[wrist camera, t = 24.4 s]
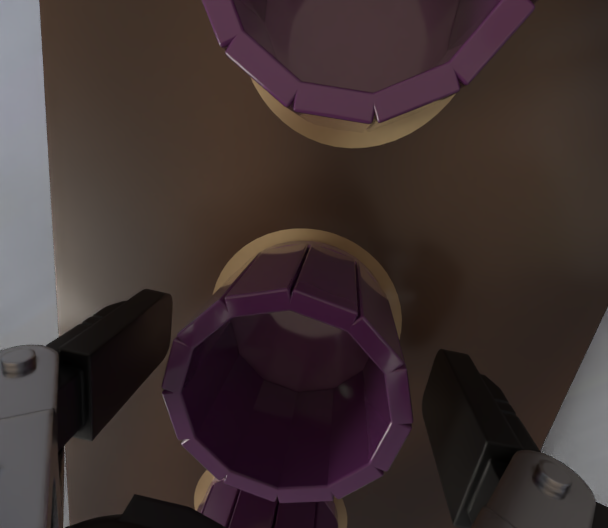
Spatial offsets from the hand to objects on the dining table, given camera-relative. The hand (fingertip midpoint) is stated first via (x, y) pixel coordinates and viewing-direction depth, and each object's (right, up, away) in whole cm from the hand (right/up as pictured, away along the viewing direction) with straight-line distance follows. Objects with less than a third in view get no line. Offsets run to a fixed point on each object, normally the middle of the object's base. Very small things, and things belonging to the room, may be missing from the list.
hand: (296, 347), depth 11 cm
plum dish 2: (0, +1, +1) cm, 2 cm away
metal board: (0, +1, +2) cm, 2 cm away
